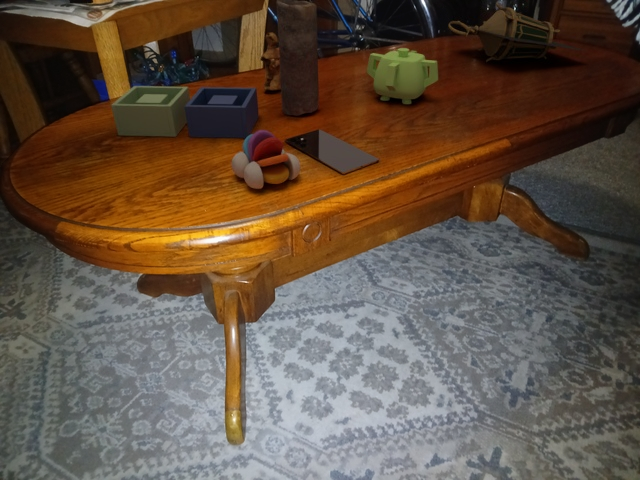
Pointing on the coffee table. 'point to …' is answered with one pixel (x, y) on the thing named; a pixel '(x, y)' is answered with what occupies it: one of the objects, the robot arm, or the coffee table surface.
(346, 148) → the smartphone
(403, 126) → the coffee table surface
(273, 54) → the figurine
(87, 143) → the coffee table surface
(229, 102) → the blue block
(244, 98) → the blue bin
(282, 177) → the rainbow puzzle ball
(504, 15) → the lantern
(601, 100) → the coffee table surface
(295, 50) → the candle
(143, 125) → the green bin
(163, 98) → the green block
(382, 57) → the green lidded pot
